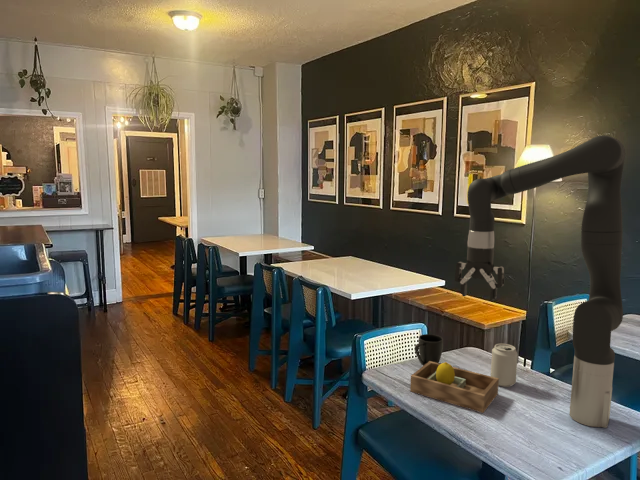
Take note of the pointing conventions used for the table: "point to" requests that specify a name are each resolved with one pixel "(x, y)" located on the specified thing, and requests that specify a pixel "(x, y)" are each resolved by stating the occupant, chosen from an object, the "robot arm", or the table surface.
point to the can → (504, 364)
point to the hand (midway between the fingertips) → (478, 297)
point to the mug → (429, 348)
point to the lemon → (445, 373)
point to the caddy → (456, 387)
